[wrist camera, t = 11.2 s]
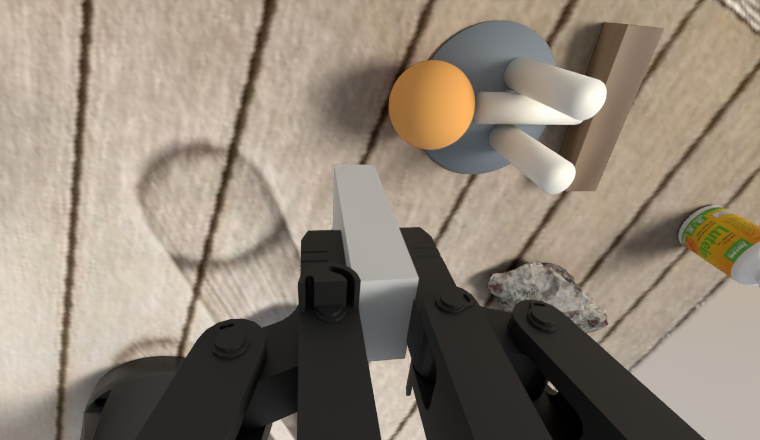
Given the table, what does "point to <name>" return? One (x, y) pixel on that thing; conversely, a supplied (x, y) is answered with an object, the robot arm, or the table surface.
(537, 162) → the pin
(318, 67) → the table surface
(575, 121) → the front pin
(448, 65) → the ball
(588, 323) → the mineral rock
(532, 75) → the pin
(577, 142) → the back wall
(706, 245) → the supplement bottle
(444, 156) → the pin disc
